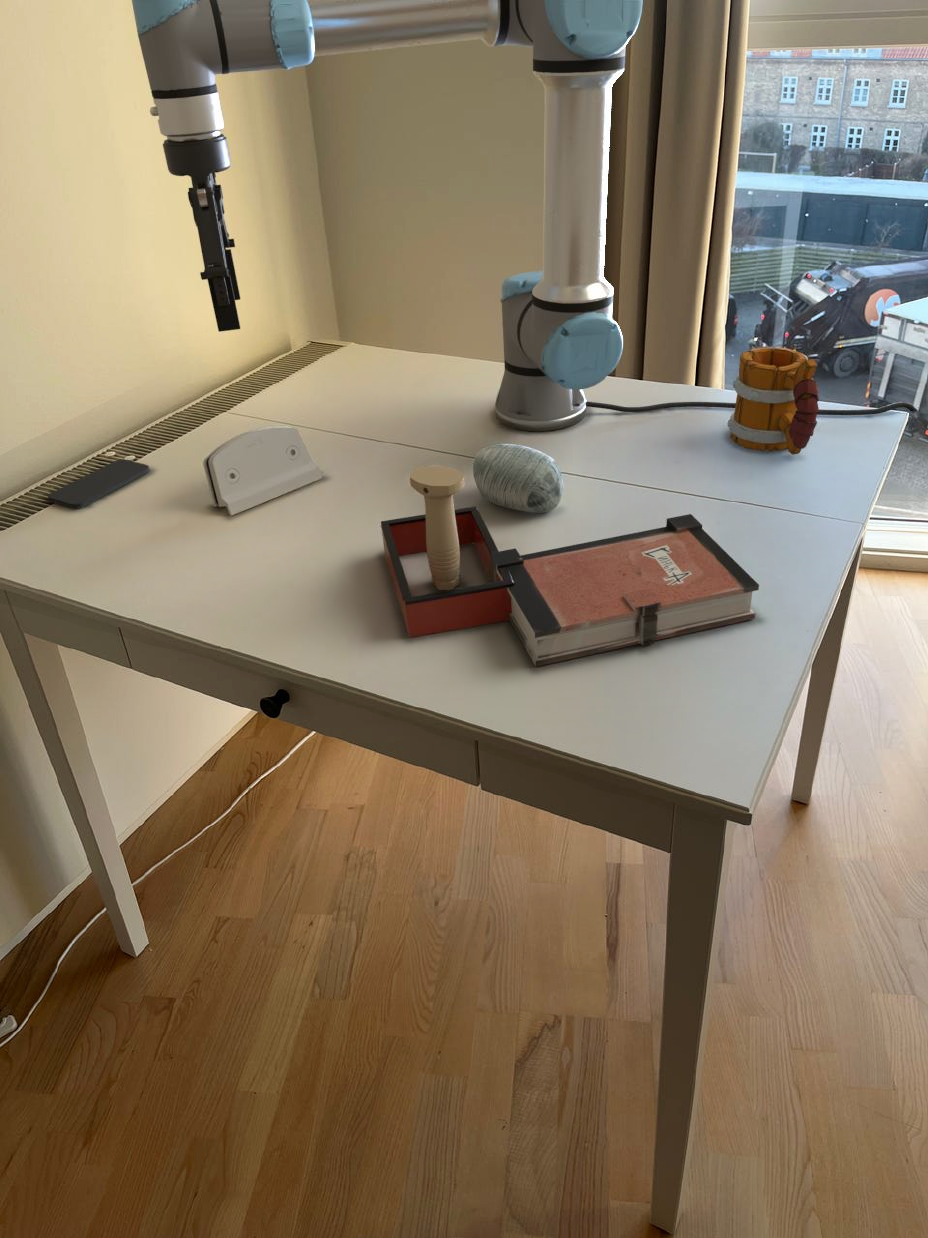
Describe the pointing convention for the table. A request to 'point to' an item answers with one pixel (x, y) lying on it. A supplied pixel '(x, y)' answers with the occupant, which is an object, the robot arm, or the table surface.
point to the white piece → (258, 467)
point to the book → (623, 591)
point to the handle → (440, 521)
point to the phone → (98, 483)
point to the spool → (518, 478)
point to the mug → (774, 400)
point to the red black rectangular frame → (447, 605)
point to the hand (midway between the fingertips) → (230, 314)
